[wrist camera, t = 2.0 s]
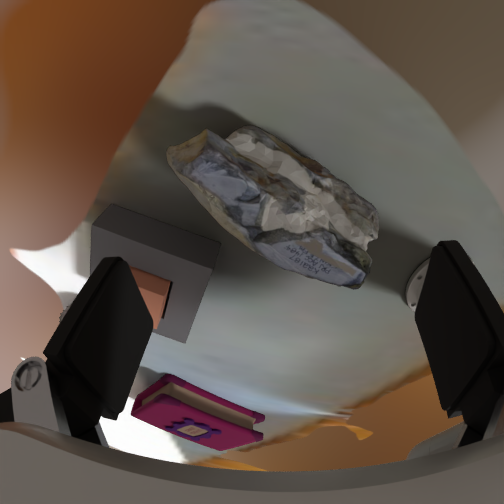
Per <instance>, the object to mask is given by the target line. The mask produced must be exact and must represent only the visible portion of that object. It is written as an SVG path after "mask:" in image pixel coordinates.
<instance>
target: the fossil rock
mask: <svg viewBox="0 0 504 504" xmlns="http://www.w3.org/2000/svg"><path fill="white" fill-rule="evenodd" d="M166 155H167V161H168V164H169V165H170V167H171V168H172V169H173V170H174V172H175V173H176V175H177V176H178V178H179V179H180V180H181V181H182V182H183V183H184V184H185V185H186V186H187V187H188V189H189V190H190V191H191V192H192V194H193V195H194V196H195V197H196V199H197V200H198V201H199V202H200V204H201V205H202V206H203V207H204V208H205V209H206V210H207V211H208V212H209V213H210V214H211V215H212V216H213V217H214V219H215V220H216V221H217V222H218V223H219V224H220V225H221V226H222V227H223V228H224V229H225V230H226V231H228V232H229V233H230V234H232V235H233V236H235V237H236V238H237V239H238V240H240V241H241V242H242V243H243V244H244V245H245V246H247V247H248V248H250V249H251V250H253V251H254V252H256V253H257V254H259V255H261V256H262V257H264V258H266V259H267V260H269V261H271V262H272V263H274V264H275V265H277V266H279V267H281V268H283V269H285V270H289V271H293V272H296V273H299V274H301V275H304V276H306V277H308V278H312V279H317V280H320V281H323V282H326V283H330V284H334V285H337V286H344V287H348V288H351V289H359V288H360V287H361V285H362V284H363V283H364V279H365V278H366V276H367V275H368V274H369V273H370V266H371V263H372V258H371V257H370V256H369V255H368V253H367V252H366V250H367V244H368V242H369V241H372V240H375V239H377V237H378V230H379V226H378V224H379V216H378V212H377V210H376V208H375V207H374V206H373V205H372V204H371V203H369V202H368V201H367V200H365V199H364V198H362V197H361V196H359V195H358V194H356V193H355V192H354V190H353V189H352V188H351V187H350V186H349V185H348V184H347V183H345V182H344V181H343V180H339V179H337V178H336V177H335V176H333V175H332V174H331V173H330V171H329V170H328V169H326V168H325V167H323V166H322V165H321V164H319V163H318V162H317V161H315V160H312V159H308V158H305V157H302V156H300V155H299V154H298V153H297V152H295V151H294V150H293V149H292V148H290V147H289V146H288V145H287V144H285V143H283V142H282V141H280V140H279V139H277V138H276V137H275V136H273V135H272V134H269V133H266V132H265V131H263V130H261V129H260V128H258V127H256V126H252V125H248V126H242V128H239V129H237V130H236V131H234V132H233V133H232V134H231V135H230V136H229V137H228V138H226V139H223V138H221V137H220V136H218V135H217V134H215V133H213V132H211V131H210V130H208V129H207V128H206V129H205V130H204V131H203V132H202V133H200V134H199V135H197V136H195V137H193V138H191V139H190V140H188V141H186V142H184V143H182V144H179V145H176V146H171V145H170V146H169V147H168V149H167V152H166Z"/></svg>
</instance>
